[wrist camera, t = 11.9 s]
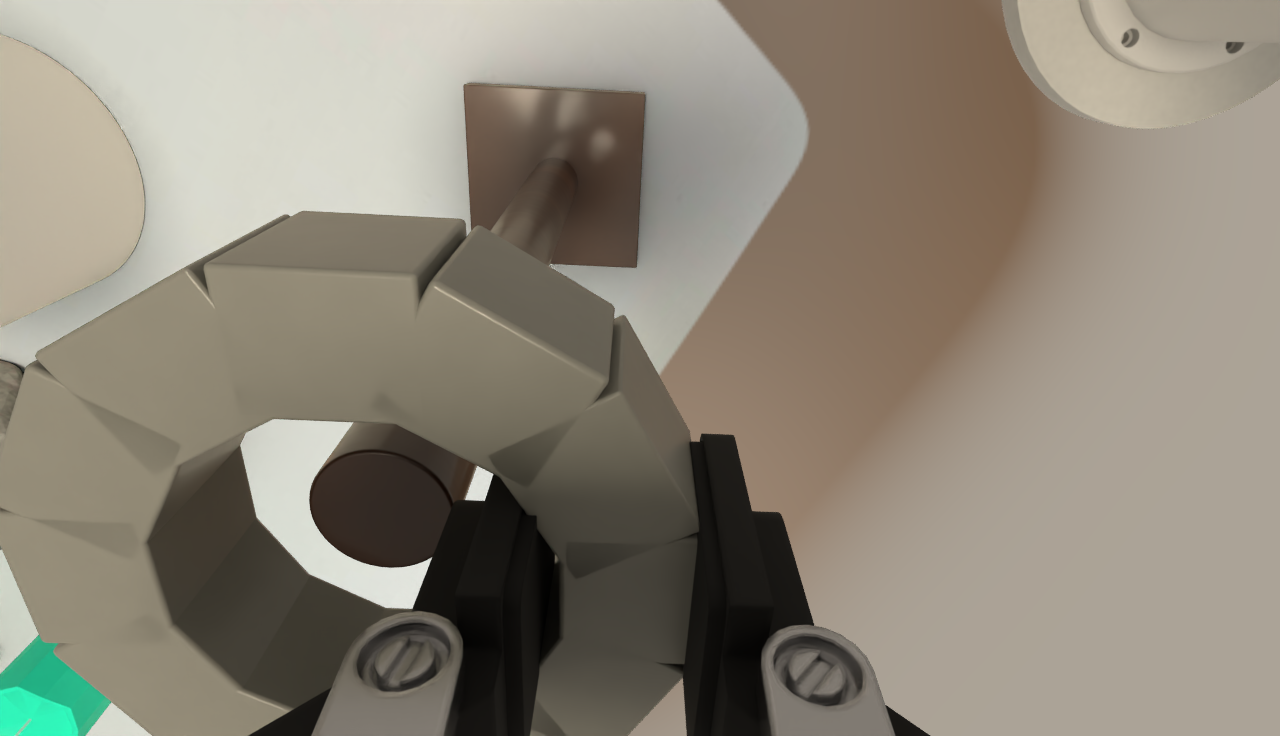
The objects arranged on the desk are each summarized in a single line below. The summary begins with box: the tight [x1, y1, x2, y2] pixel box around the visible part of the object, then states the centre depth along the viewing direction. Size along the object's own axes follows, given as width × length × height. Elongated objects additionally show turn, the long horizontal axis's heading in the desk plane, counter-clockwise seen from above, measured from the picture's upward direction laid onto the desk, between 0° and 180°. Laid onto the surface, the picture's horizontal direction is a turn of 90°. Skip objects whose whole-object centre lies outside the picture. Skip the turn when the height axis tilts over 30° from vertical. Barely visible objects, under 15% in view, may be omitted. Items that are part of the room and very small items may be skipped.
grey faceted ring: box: [0, 211, 699, 736], centre depth 11 cm, size 10×10×3 cm
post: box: [309, 83, 645, 568], centre depth 25 cm, size 9×9×29 cm
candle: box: [0, 635, 111, 736], centre depth 45 cm, size 6×6×12 cm
